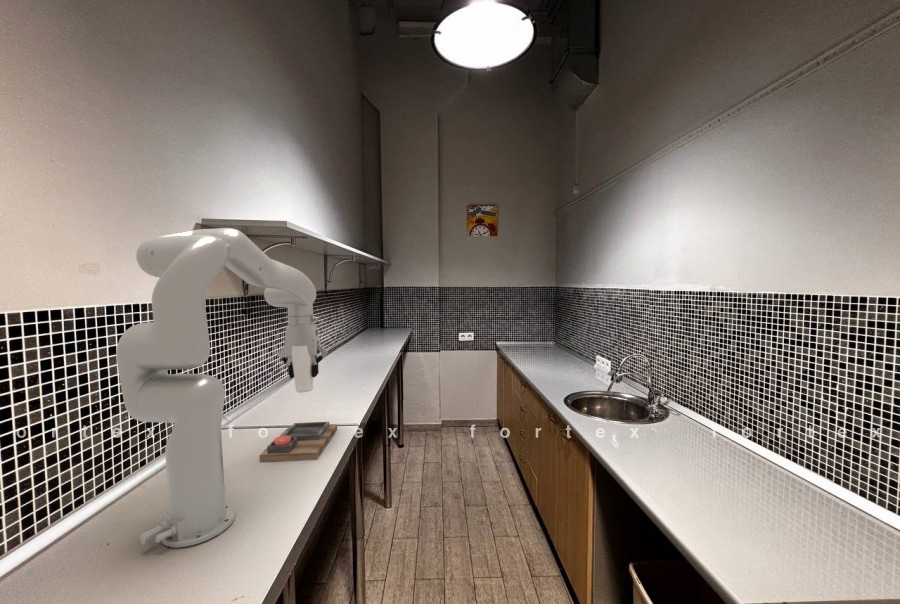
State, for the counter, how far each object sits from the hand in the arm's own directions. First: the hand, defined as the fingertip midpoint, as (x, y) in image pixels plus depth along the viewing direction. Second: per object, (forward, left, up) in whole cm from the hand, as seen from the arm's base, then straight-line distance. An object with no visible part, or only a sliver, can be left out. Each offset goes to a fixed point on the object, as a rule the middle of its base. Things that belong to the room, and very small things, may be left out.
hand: (303, 376), depth 120 cm
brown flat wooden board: (-4, -2, -21) cm, 21 cm away
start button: (-11, -3, -18) cm, 21 cm away
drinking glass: (0, 0, -5) cm, 5 cm away
